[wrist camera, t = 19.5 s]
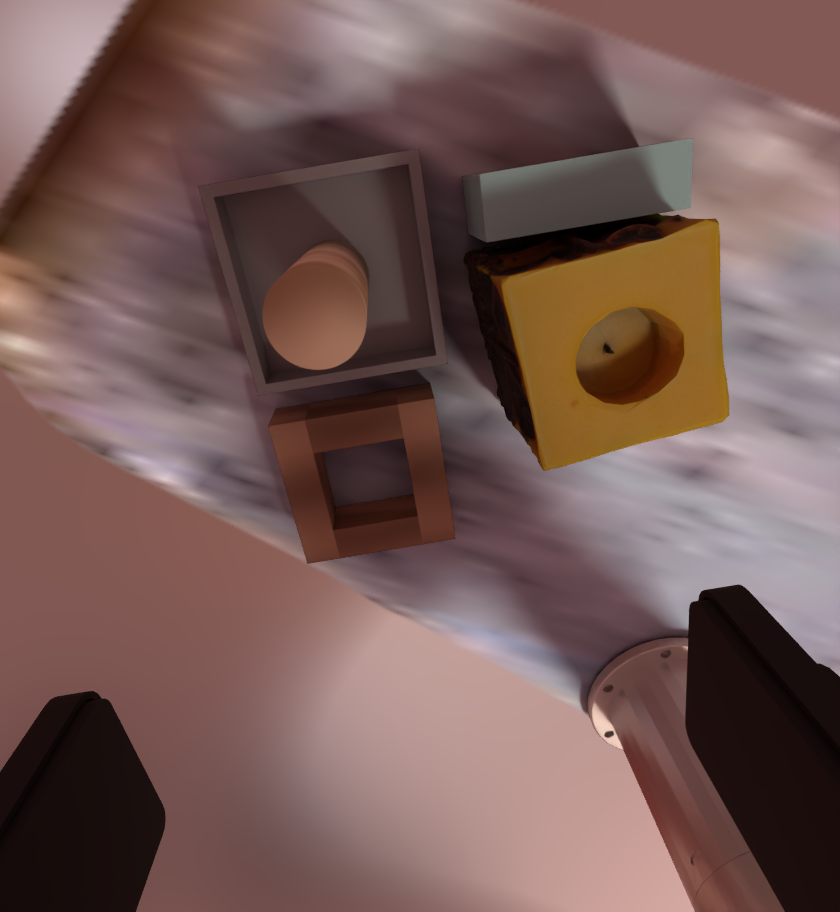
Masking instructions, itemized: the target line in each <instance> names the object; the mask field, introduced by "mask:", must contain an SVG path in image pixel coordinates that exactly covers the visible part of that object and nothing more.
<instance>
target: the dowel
mask: <svg viewBox="0 0 840 912" xmlns="http://www.w3.org/2000/svg"><path fill="white" fill-rule="evenodd" d="M368 292H369V270H368V266H367V264H366V262H365V260H364V258H363V256H362V255H361V254H360V253H359V251H358V250H356V249H355V248H354V247H353V246H351V245H349V244H347V243H345V242H342V241H338V240H327V241H323V242H320V243H318V244H316V245H314V246H313V247H312V248H310V249H309V250H308V251H307V252H306V253H305V254H304V255H303V256H302V257H301V258H300V259H299V260H298V261H297V262H295V263H294V264H293V265H292V266H291V267H290V268H289V269H288V270H287V271H286V272H285V273H284V274H283V275H282V276H281V277H279V278H278V279H277V280H276V281H275V283H274V284H273V285H272V286H271V288H270V289H269V291H268V293H267V295H266V298H265V301H264V305H263V313H262V317H263V325H264V329H265V332H266V335H267V337H268V339H269V341H270V343H271V344H272V346H273V347H274V349H275V350H276V351H277V352H278V353H279V354H280V355H281V356H282V357H283V358H285V359H286V360H287V361H289V362H291V363H292V364H294V365H297V366H299V367H302V368H306V369H312V370H323V369H329V368H333V367H336V366H338V365H340V364H342V363H344V362H345V361H347V360H348V359H349V358H351V357H352V356H353V355H354V354H355V352H356V351H357V350H358V348H359V347H360V345H361V343H362V341H363V339H364V335H365V332H366V324H367V308H368Z"/></svg>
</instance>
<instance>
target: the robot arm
mask: <svg viewBox="0 0 840 912" xmlns="http://www.w3.org/2000/svg"><path fill="white" fill-rule="evenodd" d="M587 707H588V713H589V717H590V719H591V722H592V724H593V727H594V729H595V730H596V732H597V733H598V735H599V736H600V737H602V739H603V740H604V741H606V742H607V743H608V744H610V745H612V746H614V747H616V748H619V749H622V750H624V752H625V754H626V757H627V759H628V761H629V763H630V766H631V768H632V770H633V772H634V775H635V777H636V779H637V782H638V784H639V786H640V788H641V791H642V793H643V795H644V797H645V800H646V802H647V804H648V806H649V809H650V811H651V813H652V816H653V818H654V820H655V822H656V825H657V827H658V829H659V831H660V834H661V836H662V838H663V840H664V843H665V845H666V847H667V849H668V851H669V854H670V856H671V858H672V861H673V863H674V865H675V868H676V870H677V872H678V874H679V876H680V879H681V881H682V883H683V886H684V888H685V890H686V892H687V895H688V897H689V899H690V901H691V904H692V906H693V908H694V910H695V912H840V677H839V676H838V675H837V674H836V673H835V672H834V671H832V670H831V669H830V668H829V667H826V666H824V665H822V664H817V663H816V662H815V661H814V660H813V659H812V658H811V657H810V656H809V655H808V654H807V653H806V652H805V651H804V649H803V648H802V647H801V646H800V645H799V644H798V643H797V642H796V641H795V640H794V639H793V638H792V637H791V636H790V635H789V633H788V632H787V631H786V630H785V629H784V628H783V627H782V626H781V625H780V624H779V623H778V622H777V621H776V620H775V619H774V617H773V616H772V615H771V614H770V613H769V612H768V611H767V610H766V609H765V608H764V607H763V606H762V605H761V604H760V603H759V601H758V600H757V599H756V598H755V597H754V596H753V595H752V594H751V593H750V592H749V591H748V590H747V589H746V588H745V587H743V586H741V585H733V586H727V587H721V588H715V589H709V590H704V591H701V593H700V595H699V600H698V601H695V602H691V604H690V608H689V631H688V638H665V639H657V640H653V641H650V642H646V643H643V644H641V645H638V646H636V647H634V648H631V649H629V650H628V651H626V652H624V653H623V654H621V655H619V656H618V657H616V658H615V659H614V660H613V661H612V662H610V663H609V664H608V665H607V666H606V667H605V668H604V669H603V670H602V671H601V673H600V674H599V675H598V676H597V678H596V680H595V681H594V683H593V685H592V687H591V690H590V693H589V696H588V705H587ZM164 828H165V810H164V807H163V804H162V802H161V800H160V799H159V797H158V795H157V793H156V791H155V789H154V787H153V785H152V783H151V781H150V779H149V777H148V775H147V773H146V771H145V769H144V767H143V765H142V763H141V761H140V759H139V758H138V755H137V753H136V751H135V750H134V748H133V746H132V744H131V742H130V740H129V738H128V736H127V734H126V732H125V730H124V728H123V726H122V724H121V722H120V720H119V718H118V716H117V714H116V712H115V710H114V709H113V706H112V705H111V703H110V702H109V700H107V699H101V697H100V696H99V694H97V693H96V692H94V691H89V692H82V693H76V694H70V695H64V696H57V697H54V698H53V699H51V700H50V701H49V702H48V703H47V704H46V705H45V707H44V708H43V710H42V711H41V712H40V714H39V715H38V717H37V718H36V720H35V721H34V723H33V724H32V726H31V727H30V729H29V730H28V732H27V733H26V735H25V736H24V738H23V739H22V741H21V742H20V744H19V745H18V747H17V748H16V749H15V751H14V752H13V754H12V756H11V757H10V758H9V760H8V761H7V763H6V764H5V766H4V767H3V769H2V770H1V772H0V912H136V909H137V906H138V903H139V901H140V898H141V895H142V892H143V889H144V887H145V884H146V881H147V878H148V875H149V872H150V869H151V867H152V864H153V861H154V858H155V855H156V852H157V850H158V847H159V844H160V841H161V838H162V835H163V832H164Z"/></svg>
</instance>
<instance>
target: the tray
mask: <svg viewBox="0 0 840 912" xmlns="http://www.w3.org/2000/svg"><path fill="white" fill-rule="evenodd" d="M198 188H199V192H200V195H201V199H202V202H203V205H204V209H205V212H206V216H207V219H208V223H209V226H210V230H211V233H212V237H213V240H214V244H215V247H216V251H217V254H218V258H219V261H220V264H221V268H222V271H223V275H224V278H225V282H226V285H227V289H228V292H229V296H230V299H231V303H232V306H233V310H234V313H235V316H236V320H237V323H238V327H239V330H240V334H241V337H242V341H243V344H244V348H245V351H246V355H247V358H248V362H249V365H250V368H251V372H252V375H253V379H254V382H255V386H256V389H257V393H258V396H260V395H266V394H272V393H278V392H284V391H290V390H295V389H301V388H307V387H313V386H319V385H325V384H331V383H337V382H343V381H348V380H354V379H360V378H366V377H372V376H378V375H384V374H390V373H396V372H402V371H407V370H413V369H419V368H425V367H431V366H437V365H443V364H448V360H447V353H446V346H445V339H444V331H443V324H442V317H441V309H440V302H439V295H438V287H437V280H436V273H435V265H434V258H433V251H432V243H431V236H430V229H429V222H428V214H427V207H426V200H425V192H424V185H423V178H422V170H421V163H420V156H419V149H414V150H408V151H402V152H396V153H390V154H384V155H378V156H372V157H366V158H361V159H355V160H349V161H343V162H337V163H331V164H325V165H319V166H314V167H308V168H302V169H296V170H290V171H284V172H278V173H272V174H267V175H261V176H255V177H249V178H243V179H237V180H231V181H225V182H220V183H214V184H208V185H202V186H198ZM327 240H338V241H342V242H345V243H347V244H349V245H351V246H353V247H354V248H355V249H356V250H358V251H359V253H360V254H361V255H362V256H363V258H364V260H365V262H366V264H367V266H368V270H369V292H368V308H367V324H366V332H365V335H364V339H363V341H362V343H361V345H360V347H359V348H358V350H357V351H356V352H355V354H354V355H353V356H352V357H351V358H349V359H348V360H347V361H345V362H344V363H342V364H340V365H338V366H336V367H333V368H329V369H323V370H312V369H306V368H302V367H299V366H297V365H294V364H292V363H291V362H289V361H287V360H286V359H285V358H283V357H282V356H281V355H280V354H279V353H278V352H277V351H276V350H275V349H274V347H273V346H272V344H271V343H270V341H269V339H268V337H267V335H266V332H265V329H264V325H263V317H262V313H263V305H264V301H265V298H266V295H267V293H268V291H269V289H270V288H271V286H272V285H273V284H274V283H275V281H276V280H277V279H278V278H279V277H281V276H282V275H283V274H284V273H285V272H286V271H287V270H288V269H289V268H290V267H291V266H292V265H293V264H294V263H295V262H297V261H298V260H299V259H300V258H301V257H302V256H303V255H304V254H305V253H306V252H307V251H308V250H309V249H310V248H312V247H313V246H314V245H316V244H318V243H320V242H323V241H327Z"/></svg>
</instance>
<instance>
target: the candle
mask: <svg viewBox="0 0 840 912" xmlns="http://www.w3.org/2000/svg"><path fill="white" fill-rule="evenodd" d="M463 262H464V263H465V264H466V265H467V268H468V273H469V283H470V287H471V291H472V293H473V302H474V305H475V308H476V311H477V315H478V320H479V325H480V329H481V333H482V335H483V337H484V340H485V348H486V350H487V352H488V359H490V360H491V364H492V368H493V372H494V375H495V378H496V381H497V384H498V388H497V396H498V397H499V398H500V402H501V406H503V407H504V410H505V414H506V417H507V419H508V420H509V421H511V422H512V425H513V426H514V427H515V428H516V429H517V430H518V431H519V432H520V434H521V435H522V436H523V438H524V439H525V441H526V443H527V444H528V445H529V446H530V447H531V450H532V452H533V453H534V454H535V456H536V457H537V459H538V462H539V464H540V466H541V467H542V469H543V470H544V471H546V470H550V469H554V468H559V467H562V466H566V465H569V464H573V463H576V462H580V461H583V460H586V459H590V458H593V457H596V456H599V455H602V454H605V453H608V452H612V451H615V450H619V449H622V448H626V447H629V446H632V445H636V444H640V443H644V442H647V441H651V440H655V439H659V438H664V437H669V436H673V435H677V434H680V433H683V432H687V431H690V430H694V429H698V428H702V427H706V426H709V425H713V424H717V423H720V422H723V421H724V420H725V419H726V418H727V417H728V416H729V395H728V387H727V379H726V373H725V368H724V360H723V346H722V322H721V301H720V234H719V223H718V221H717V220H716V219H688V218H685V217H682V216H679V215H675V216H662V215H660V214H658V213H657V214H651V215H645V216H639V217H633V218H628V219H622V220H616V221H610V222H604V223H598V224H592V225H586V226H580V227H575V228H569V229H563V230H557V231H551V232H545V233H539V234H534V235H527V236H524V237H523V239H522V241H521V242H520V243H518V244H517V245H514V246H502V247H499V248H498V247H484V248H482V249H481V250H473V251H472V252H469V253H466V254H465V257H464V260H463Z"/></svg>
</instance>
